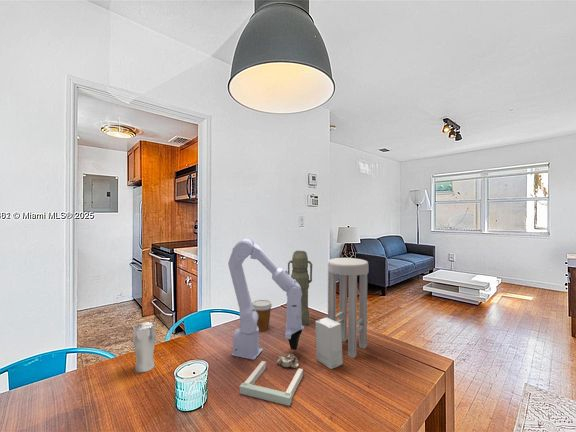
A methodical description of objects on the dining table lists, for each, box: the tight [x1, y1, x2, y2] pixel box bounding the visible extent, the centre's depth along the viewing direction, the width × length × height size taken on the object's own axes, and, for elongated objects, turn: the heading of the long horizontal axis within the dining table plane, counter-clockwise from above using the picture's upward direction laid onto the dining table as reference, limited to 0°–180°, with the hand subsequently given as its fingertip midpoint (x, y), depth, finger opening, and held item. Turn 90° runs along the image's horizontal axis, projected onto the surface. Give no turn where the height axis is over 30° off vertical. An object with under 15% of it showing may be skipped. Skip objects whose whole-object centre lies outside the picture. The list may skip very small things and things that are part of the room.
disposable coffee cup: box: [251, 299, 273, 332], centre depth 130 cm, size 10×10×12 cm
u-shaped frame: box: [239, 360, 304, 407], centre depth 89 cm, size 16×15×2 cm
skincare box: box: [314, 316, 344, 370], centre depth 101 cm, size 8×6×15 cm
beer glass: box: [132, 321, 157, 374], centre depth 98 cm, size 7×7×15 cm
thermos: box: [287, 250, 313, 327], centre depth 136 cm, size 9×12×35 cm
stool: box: [327, 257, 370, 359], centre depth 112 cm, size 16×16×35 cm
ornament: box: [276, 352, 300, 369], centre depth 100 cm, size 8×7×4 cm
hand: (293, 349), depth 108 cm, fingers closed
